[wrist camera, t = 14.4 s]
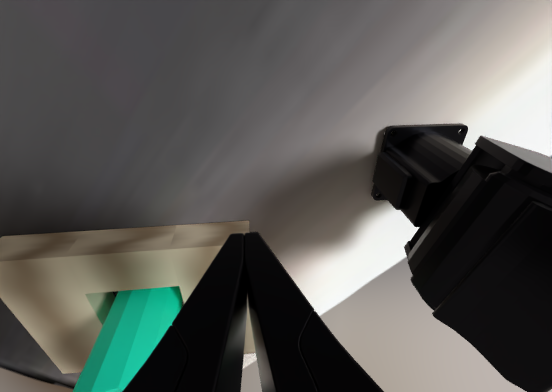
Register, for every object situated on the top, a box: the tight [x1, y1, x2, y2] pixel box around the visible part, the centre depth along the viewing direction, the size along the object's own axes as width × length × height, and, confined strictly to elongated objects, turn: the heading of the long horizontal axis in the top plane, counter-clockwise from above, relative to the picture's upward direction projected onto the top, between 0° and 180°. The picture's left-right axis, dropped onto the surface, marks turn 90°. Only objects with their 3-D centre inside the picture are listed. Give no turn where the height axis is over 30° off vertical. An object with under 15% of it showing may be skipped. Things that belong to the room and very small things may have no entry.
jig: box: [0, 221, 256, 374], centre depth 26 cm, size 20×16×3 cm
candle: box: [73, 286, 183, 392], centre depth 22 cm, size 6×6×12 cm
